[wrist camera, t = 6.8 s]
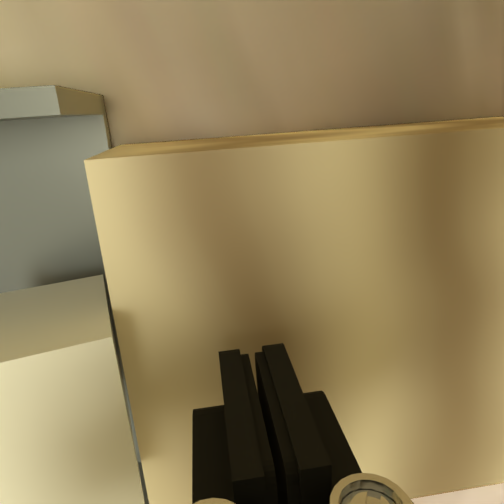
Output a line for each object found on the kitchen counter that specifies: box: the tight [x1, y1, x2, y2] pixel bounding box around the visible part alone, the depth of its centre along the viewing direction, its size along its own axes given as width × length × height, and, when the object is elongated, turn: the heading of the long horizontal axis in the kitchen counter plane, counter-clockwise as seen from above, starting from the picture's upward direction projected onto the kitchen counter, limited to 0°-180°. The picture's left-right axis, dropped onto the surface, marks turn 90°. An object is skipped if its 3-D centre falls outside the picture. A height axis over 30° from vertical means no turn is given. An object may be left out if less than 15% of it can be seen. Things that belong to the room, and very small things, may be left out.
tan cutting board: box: [84, 116, 504, 504], centre depth 15 cm, size 20×12×5 cm, turn 94°
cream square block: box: [0, 275, 145, 504], centre depth 11 cm, size 5×5×3 cm
